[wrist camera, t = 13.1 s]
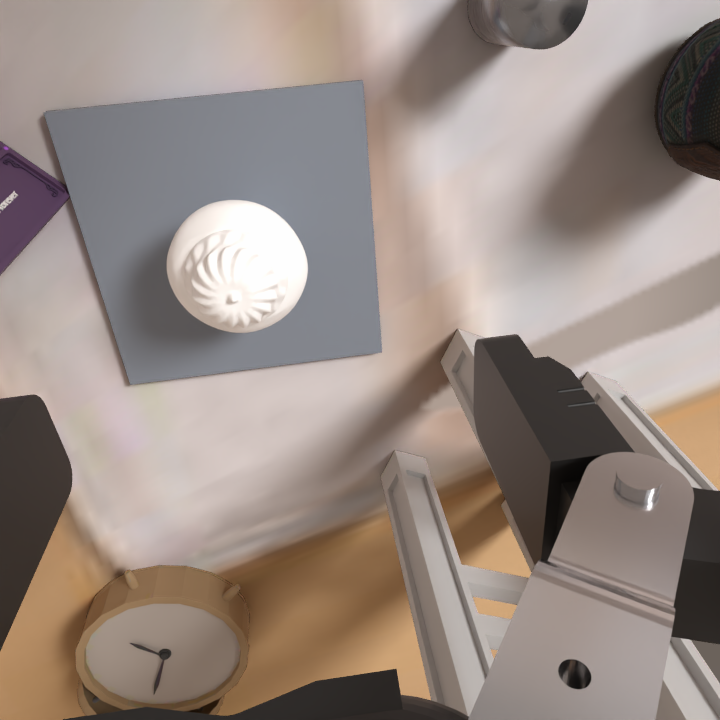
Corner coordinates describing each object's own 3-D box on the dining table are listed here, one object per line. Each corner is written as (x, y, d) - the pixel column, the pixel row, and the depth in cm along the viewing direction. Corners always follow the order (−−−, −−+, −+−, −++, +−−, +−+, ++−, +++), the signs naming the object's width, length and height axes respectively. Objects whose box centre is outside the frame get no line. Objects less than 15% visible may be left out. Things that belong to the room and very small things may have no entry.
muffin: (187, 303, 31) (165, 372, 25) (168, 183, 28) (139, 228, 22) (307, 297, 32) (314, 363, 26) (301, 179, 29) (308, 222, 23)
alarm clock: (268, 604, 40) (215, 770, 44) (266, 557, 45) (218, 711, 49) (89, 582, 37) (50, 762, 41) (106, 534, 42) (69, 700, 46)
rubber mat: (361, 80, 28) (363, 80, 27) (380, 348, 34) (382, 352, 34) (47, 111, 27) (43, 112, 26) (132, 380, 34) (130, 384, 33)
